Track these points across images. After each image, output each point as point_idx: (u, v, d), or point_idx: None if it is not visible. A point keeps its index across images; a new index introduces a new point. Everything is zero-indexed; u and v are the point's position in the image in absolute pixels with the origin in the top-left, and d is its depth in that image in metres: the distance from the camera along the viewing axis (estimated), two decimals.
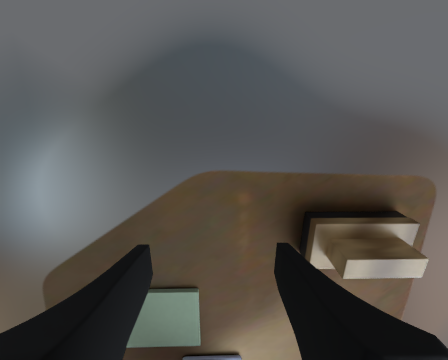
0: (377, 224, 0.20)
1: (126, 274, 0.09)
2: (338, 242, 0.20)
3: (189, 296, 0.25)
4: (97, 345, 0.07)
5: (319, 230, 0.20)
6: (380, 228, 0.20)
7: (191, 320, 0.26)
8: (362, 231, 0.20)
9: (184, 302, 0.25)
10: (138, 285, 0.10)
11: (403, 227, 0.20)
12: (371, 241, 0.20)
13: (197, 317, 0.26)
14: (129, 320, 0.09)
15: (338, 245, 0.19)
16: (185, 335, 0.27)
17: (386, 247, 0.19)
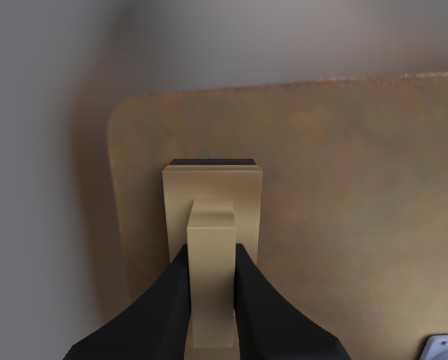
0: (169, 240, 0.12)
1: (185, 273, 0.09)
2: None
3: None
4: (174, 343, 0.07)
5: None
6: (177, 233, 0.12)
7: None
8: None
9: None
10: None
11: (172, 198, 0.11)
12: None
13: None
14: (186, 319, 0.09)
15: None
16: None
17: None
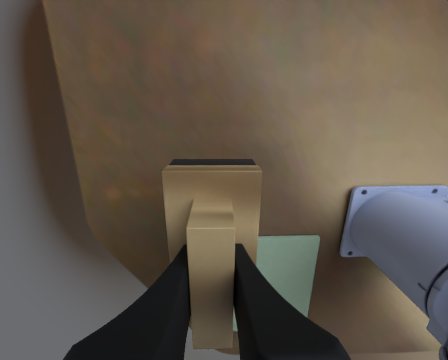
0: (169, 240, 0.12)
1: (186, 273, 0.09)
2: None
3: None
4: (174, 343, 0.07)
5: None
6: (176, 233, 0.12)
7: (276, 247, 0.22)
8: None
9: None
10: None
11: (171, 198, 0.11)
12: None
13: (272, 240, 0.22)
14: (186, 319, 0.09)
15: None
16: (299, 253, 0.23)
17: None
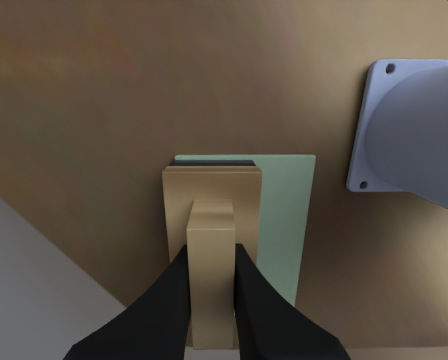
0: (169, 240, 0.12)
1: (185, 273, 0.09)
2: None
3: None
4: (174, 343, 0.07)
5: None
6: (177, 234, 0.12)
7: None
8: None
9: None
10: None
11: (171, 199, 0.11)
12: None
13: (237, 159, 0.14)
14: (186, 319, 0.09)
15: None
16: (282, 183, 0.14)
17: None
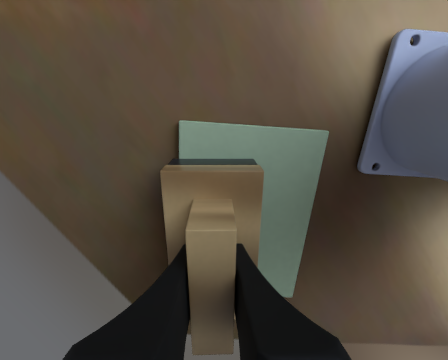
0: (167, 242, 0.12)
1: (185, 273, 0.09)
2: None
3: (187, 139, 0.13)
4: (174, 343, 0.07)
5: None
6: (176, 235, 0.12)
7: (252, 142, 0.13)
8: None
9: (204, 150, 0.13)
10: None
11: (170, 198, 0.11)
12: None
13: (246, 128, 0.13)
14: (186, 319, 0.09)
15: None
16: (292, 158, 0.13)
17: None
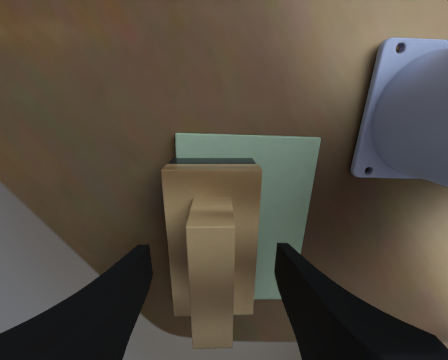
0: (168, 239, 0.12)
1: (126, 274, 0.09)
2: None
3: (184, 151, 0.13)
4: (97, 345, 0.07)
5: (184, 312, 0.14)
6: (176, 233, 0.12)
7: (247, 152, 0.13)
8: (182, 258, 0.13)
9: None
10: (138, 285, 0.10)
11: (171, 197, 0.11)
12: None
13: (240, 138, 0.13)
14: (129, 320, 0.09)
15: None
16: (286, 165, 0.14)
17: None
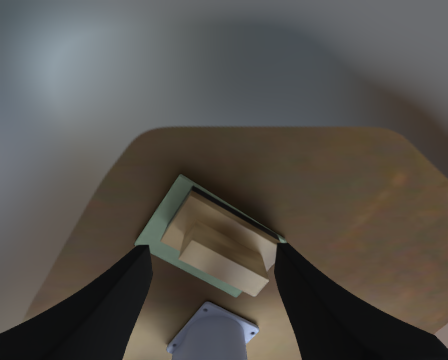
0: (248, 229, 0.19)
1: (126, 274, 0.09)
2: (200, 225, 0.18)
3: None
4: (97, 345, 0.07)
5: (190, 204, 0.18)
6: (249, 235, 0.19)
7: None
8: (231, 229, 0.18)
9: None
10: (138, 285, 0.10)
11: (269, 246, 0.19)
12: (233, 242, 0.18)
13: None
14: (129, 320, 0.09)
15: (198, 227, 0.17)
16: None
17: (241, 253, 0.18)
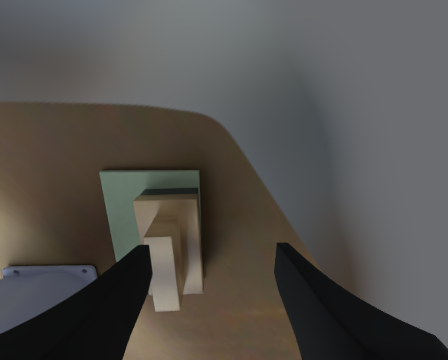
0: (199, 258, 0.19)
1: (126, 274, 0.09)
2: (178, 225, 0.17)
3: None
4: (97, 345, 0.07)
5: (188, 203, 0.18)
6: (194, 262, 0.19)
7: None
8: (190, 246, 0.19)
9: None
10: (138, 285, 0.10)
11: (197, 281, 0.20)
12: (181, 257, 0.19)
13: None
14: (129, 320, 0.09)
15: (176, 226, 0.17)
16: None
17: (180, 272, 0.18)
